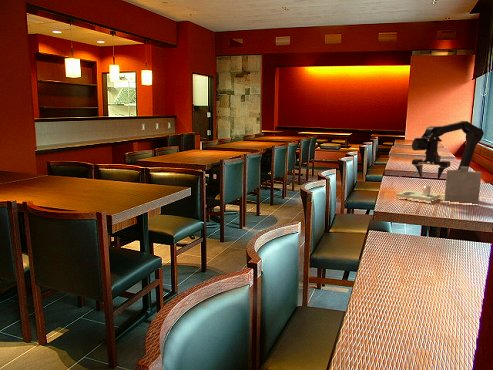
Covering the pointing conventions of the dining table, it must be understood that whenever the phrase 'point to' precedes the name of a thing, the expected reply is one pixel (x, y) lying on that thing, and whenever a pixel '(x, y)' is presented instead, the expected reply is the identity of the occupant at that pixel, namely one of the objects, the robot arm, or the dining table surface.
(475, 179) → the grey upright panel
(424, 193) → the plug
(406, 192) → the socket block
